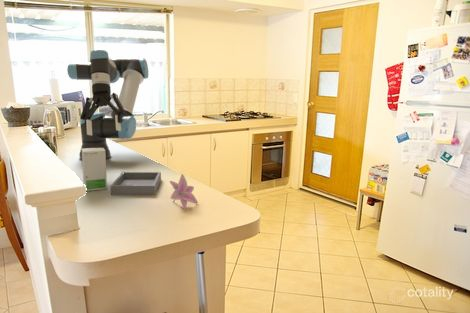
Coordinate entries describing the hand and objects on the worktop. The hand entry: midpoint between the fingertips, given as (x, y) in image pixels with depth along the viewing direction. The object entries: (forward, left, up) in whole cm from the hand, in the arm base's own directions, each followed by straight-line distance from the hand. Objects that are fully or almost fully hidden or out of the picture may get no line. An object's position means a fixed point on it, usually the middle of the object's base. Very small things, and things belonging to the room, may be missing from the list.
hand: (104, 132), depth 145 cm
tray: (+16, +17, -19) cm, 30 cm away
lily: (+35, +36, -19) cm, 54 cm away
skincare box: (+17, +1, -19) cm, 26 cm away
